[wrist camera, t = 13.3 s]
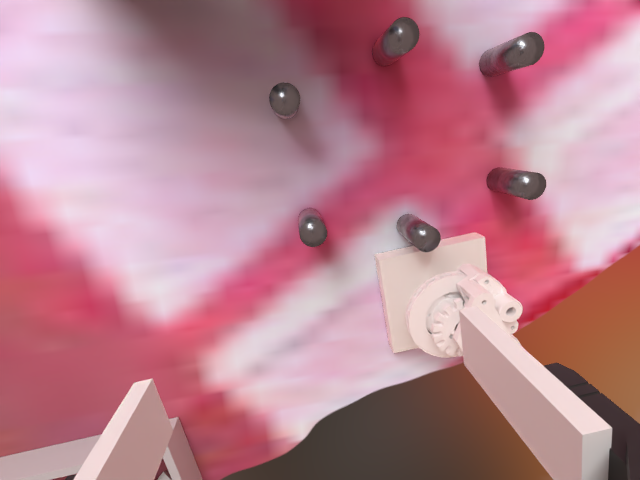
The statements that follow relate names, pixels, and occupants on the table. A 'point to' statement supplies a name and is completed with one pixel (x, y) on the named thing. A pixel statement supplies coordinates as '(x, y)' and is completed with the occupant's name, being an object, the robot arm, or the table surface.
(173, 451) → the storage bin
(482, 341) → the robot arm
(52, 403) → the table surface
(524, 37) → the standoff posts
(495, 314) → the mechanical part
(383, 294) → the parts stand
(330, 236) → the table surface
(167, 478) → the faucet
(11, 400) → the table surface
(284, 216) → the table surface
